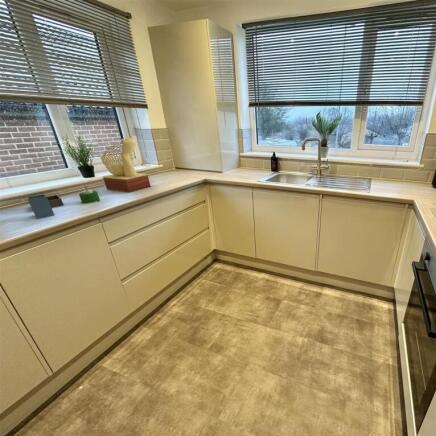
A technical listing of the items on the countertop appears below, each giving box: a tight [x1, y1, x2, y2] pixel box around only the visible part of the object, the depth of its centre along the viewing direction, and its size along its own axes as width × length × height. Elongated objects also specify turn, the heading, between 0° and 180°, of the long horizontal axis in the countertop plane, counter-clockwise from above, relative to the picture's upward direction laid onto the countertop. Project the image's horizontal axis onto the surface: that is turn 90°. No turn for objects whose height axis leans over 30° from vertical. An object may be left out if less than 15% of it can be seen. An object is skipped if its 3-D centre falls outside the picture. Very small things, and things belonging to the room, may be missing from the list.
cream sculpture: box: [100, 135, 152, 193], centre depth 161 cm, size 25×18×35 cm
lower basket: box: [29, 194, 64, 209], centre depth 132 cm, size 12×12×5 cm
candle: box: [78, 184, 101, 204], centre depth 138 cm, size 8×8×10 cm
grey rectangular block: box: [26, 193, 55, 220], centre depth 118 cm, size 6×6×10 cm
